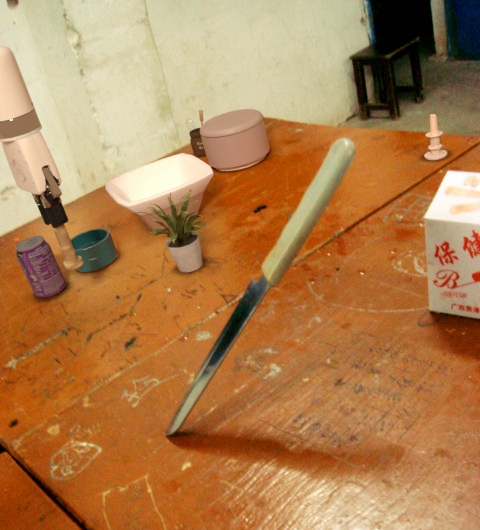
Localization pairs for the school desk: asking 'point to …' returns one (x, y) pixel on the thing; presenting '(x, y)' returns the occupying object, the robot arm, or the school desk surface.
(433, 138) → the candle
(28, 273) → the beverage can
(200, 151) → the utensil holder
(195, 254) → the house plant
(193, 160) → the bowl
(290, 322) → the school desk surface
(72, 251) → the muddler
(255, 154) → the container
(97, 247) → the mixing bowl
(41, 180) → the robot arm
